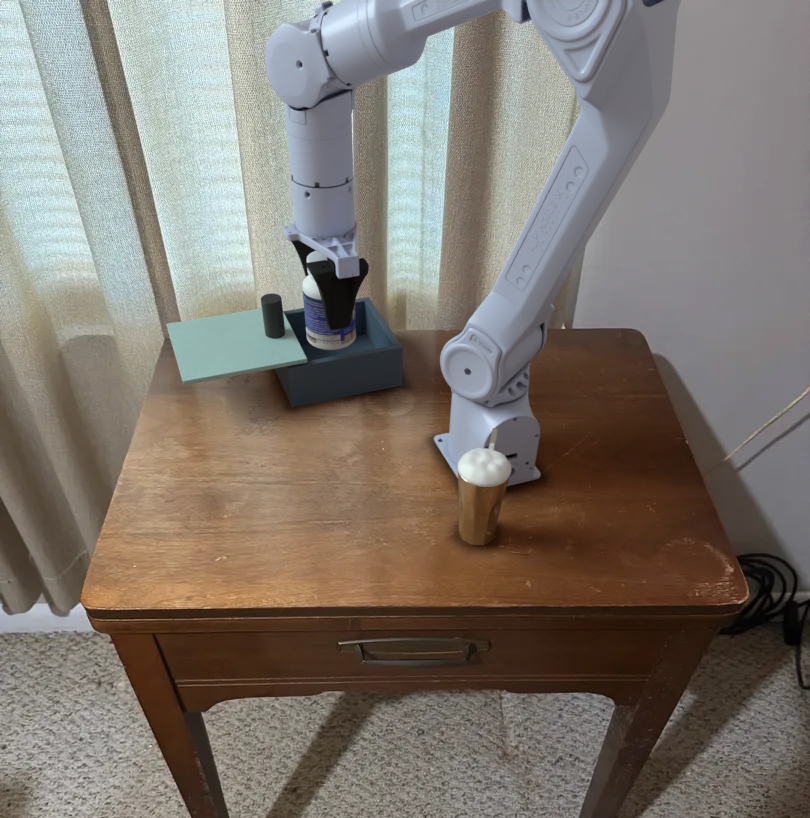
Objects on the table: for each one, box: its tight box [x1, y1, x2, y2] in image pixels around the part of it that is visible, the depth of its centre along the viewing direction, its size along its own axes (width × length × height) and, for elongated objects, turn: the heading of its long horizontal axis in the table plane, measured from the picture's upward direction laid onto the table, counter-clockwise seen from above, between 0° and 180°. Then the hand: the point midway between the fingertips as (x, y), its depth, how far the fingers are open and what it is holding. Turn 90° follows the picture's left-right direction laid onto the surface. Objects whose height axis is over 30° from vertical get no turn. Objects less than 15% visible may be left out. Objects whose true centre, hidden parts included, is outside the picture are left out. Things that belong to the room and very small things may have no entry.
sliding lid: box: [165, 293, 307, 386], centre depth 81 cm, size 12×13×5 cm
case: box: [274, 296, 404, 408], centre depth 87 cm, size 12×13×5 cm
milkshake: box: [457, 428, 511, 547], centre depth 67 cm, size 4×5×10 cm
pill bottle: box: [301, 251, 356, 350], centre depth 77 cm, size 5×5×9 cm
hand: (330, 312), depth 78 cm, fingers closed on pill bottle, 5 cm apart
